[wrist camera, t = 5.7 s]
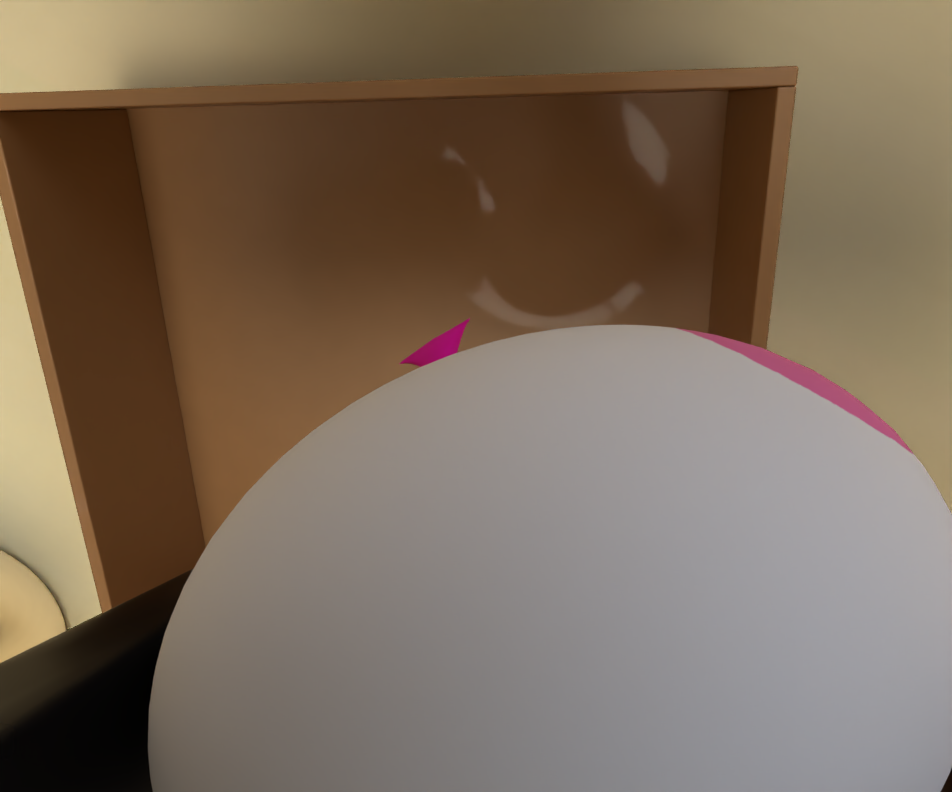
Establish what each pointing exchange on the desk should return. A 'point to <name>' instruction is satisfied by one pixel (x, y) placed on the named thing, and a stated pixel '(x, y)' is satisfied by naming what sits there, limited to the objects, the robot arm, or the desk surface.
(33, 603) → the beer glass
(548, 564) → the stress ball
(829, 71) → the desk surface
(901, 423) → the desk surface
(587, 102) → the carton
